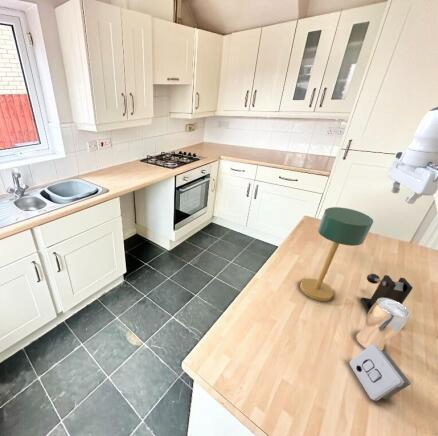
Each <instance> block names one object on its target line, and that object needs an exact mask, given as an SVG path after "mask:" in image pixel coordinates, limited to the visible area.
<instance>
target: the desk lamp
mask: <svg viewBox="0 0 438 436" xmlns="http://www.w3.org/2000/svg"><path fill="white" fill-rule="evenodd" d="M373 224H374V219H373V218H372V217H371V216H369V215H367V214H366V213H363V212H361V211H359V210H355V209H351V208H346V207H339V206H334V207H333V206H332V207H327V208H326V209H324V211H323V214H322V217H321V219H320V222H319V225H318V227H317V232H318V234H319V235H320V236H321V237H323V238H325V239H326V240H328V241H331V242H332V244H331V246H330V249H329V251H328V254H327V256H326V258H325V261H324V263H323V266H322V268H321V270H320V273H319V275H318V278H317V279H316V278H310V277H309V278H304V279H302V281H301V282H300V285H299V286H300V287H299V288H300V290H301V292H302V293H303V294H304V295H306V296H307V297H309V298H311V299H313V300H315V301H319V302H328V301H330V300H331V299H332V298H333V296H334V290H333V289H332V287H331V286H329V285H328V284H327V283H326V282H325V281H324V280H325V278H326V275H327V274H328V272H329V271H328V270H329V268H330V266H331V264H332V262H333V259H334V257H335V254H336V253H337V250H338V248H339V246H340V245H343V246H351V247H352V246H360V245H362V244H364V242H365V240H366V238H367V237H368V234H369V232H370V230H371V228H372V226H373Z"/></svg>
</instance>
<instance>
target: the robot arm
mask: <svg viewBox="0 0 438 436" xmlns="http://www.w3.org/2000/svg"><path fill="white" fill-rule="evenodd" d="M393 156H394V159H393V160H392V162H391V164H390V167H389V169H388V172H387V177H389V178H390V179H392V182H391V189H390V192H391V193H393V194H399V193H400V191H401V188H400V186H401V185H402V186H403V187H406V188H407V189H409V190H411V195H410V196H406V197H405V198H406V199H405V202H406V203H407V204H410V205H413V204H415V203H416V201H417V200H418V199H420V198H421V197H422V196H431V197H432V196H434V195H435V194H436V193H437V191H438V106H436V107H434V108H432V109H430V110H428V111H427V112H426V113H425V114H424V116H423V118H422V119H421V121H420V123H419V124H418V126H417V128H416V131H415V132H414V134H413V139H412V141H411V143H410V144H409V145H408V146H407V148H406V150H401V151H396V152H395V153H394V155H393Z"/></svg>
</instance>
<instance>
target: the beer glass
mask: <svg viewBox="0 0 438 436" xmlns="http://www.w3.org/2000/svg"><path fill="white" fill-rule="evenodd" d="M410 316H411V311H410V310H409V309H408V308H407V307H406V306H405V305H404V304H403V303H402V304H401V303H399V302H397V301H395V300H392V299H389V298H379V299H377V301H376V302H375V303H374V305H373V306H372V307H371V309H370V310H369V312H367V315H366V318H365V322H364V325H363V327H362V329H361V330H360V331H359V332H358V333H357V334H356V338H355V339H356V341H357V342H358V343H359V345H361V346H362V347H363V348H364V349H366V348H367V347H369V346H370V345H376V346H378V348H379V349H380V350H381V351H384V348H385V345H386V343H387V341H389V340H390V339H391V338H393V337H394V336H396V335H397V334H398V333H399V332H401V330H402V329H403V328H404V326H405V325H406V323H407V321H408V319H409V317H410Z"/></svg>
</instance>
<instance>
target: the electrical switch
mask: <svg viewBox="0 0 438 436" xmlns="http://www.w3.org/2000/svg"><path fill="white" fill-rule="evenodd" d="M349 366H350V368H351V369H352V371H353V372H354V375H355V376H356V377H357V379H358V381H359V382H360V384H361V385H362V388H363V389H364V391H365V392H366V394H367V396H368V397H369V398H370V399H371V400H373V401H376V402H377V401H379V400H381V399H382V400H388V399H389V398H391V397H392V396H395V395H396V394H398V393H399V392H401V391H402V390H404V389H405V388H408V387H409V386H411V385H412V383H411V382H410V380H409V379H408V377H407V376H406V375H405V374H404V372H403V371H402V370H401V369H400V367H399V366H398V365H397V363H396V362H395V361H394V360H393V358H392V357H391V356H390V354H389V353H388V352H387V351H386V350H385V351H384V350H382V351H381V350H380V349H379V348H378V346H376V345H370V346H369V347H367V348H364V350H362V351H361V352H360V353H358V354H357V355H356V356H355V357H354V358H352V359H351V360H349Z"/></svg>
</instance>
